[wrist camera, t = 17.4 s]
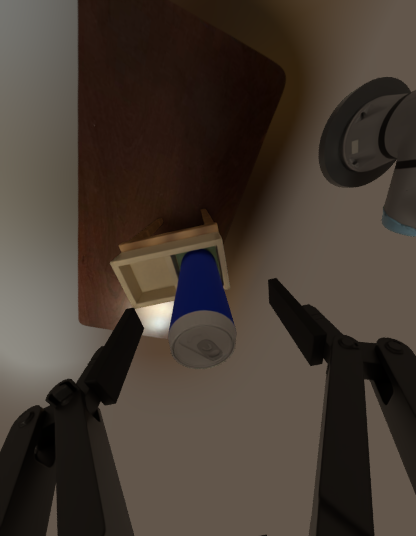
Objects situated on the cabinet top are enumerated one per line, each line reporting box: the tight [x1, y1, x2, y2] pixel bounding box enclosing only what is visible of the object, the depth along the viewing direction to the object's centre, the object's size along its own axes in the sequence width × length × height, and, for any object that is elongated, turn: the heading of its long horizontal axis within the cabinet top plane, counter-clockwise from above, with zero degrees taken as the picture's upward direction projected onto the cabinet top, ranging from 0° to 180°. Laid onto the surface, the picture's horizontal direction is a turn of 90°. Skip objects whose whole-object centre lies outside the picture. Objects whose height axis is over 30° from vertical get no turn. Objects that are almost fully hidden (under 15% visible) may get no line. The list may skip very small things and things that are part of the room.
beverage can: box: [168, 249, 236, 369], centre depth 18 cm, size 5×5×15 cm
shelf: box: [119, 208, 219, 252], centre depth 38 cm, size 15×10×26 cm, turn 101°
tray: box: [110, 232, 230, 309], centre depth 24 cm, size 15×8×4 cm, turn 101°
